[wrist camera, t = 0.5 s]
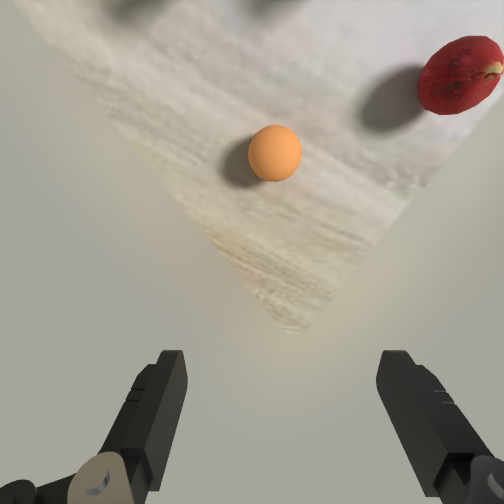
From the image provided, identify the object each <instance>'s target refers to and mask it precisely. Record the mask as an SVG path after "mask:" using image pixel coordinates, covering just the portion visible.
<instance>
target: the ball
mask: <svg viewBox="0 0 504 504" xmlns="http://www.w3.org/2000/svg"><path fill="white" fill-rule="evenodd" d="M248 159H249V163H250V166H251V168H252V170H253V171H254V173H255V174H256V175H257V176H259V177H260V178H262V179H264V180H266V181H271V182H278V181H282V180H284V179H286V178H288V177H290V176H291V175H292V174H293V173H294V172H295V170H296V169H297V167H298V165H299V163H300V160H301V146H300V142H299V140H298V138H297V136H296V135H295V134H294V133H293V132H292V131H291V130H290V129H288V128H286V127H284V126H280V125H271V126H267V127H265V128H263V129H261V130H260V131H259V132H257V133H256V134H255V136H254V137H253V139H252V140H251V143H250V145H249V150H248Z"/></svg>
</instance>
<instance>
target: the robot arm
mask: <svg viewBox="0 0 504 504" xmlns="http://www.w3.org/2000/svg"><path fill="white" fill-rule="evenodd" d="M187 382H188V378H187V371H186V366H185V360H184V355H183V351H182V350H163V351H162V352H161V354H160V356H159V358H158V361H157V363H156V364H148V365H147V366H146V367H145V368H144V369H143V370H142V371H141V372H140V373H139V374H138V375H137V377H136V380H135V381H134V383H133V386H132V388H131V391H130V392H129V394H128V396H127V398H126V401H125V402H124V404H123V406H122V408H121V410H120V412H119V414H118V416H117V418H116V420H115V422H114V424H113V426H112V428H111V430H110V432H109V434H108V436H107V438H106V440H105V442H104V444H103V446H102V448H101V450H100V451H99V452H98V454H97V455H96V456H94V457H92V458H91V459H90V460H88V461H87V462H86V463H85V464H84V465H83V466H82V467H81V468H80V469H79V470H78V471H77V473H75V474H73V475H71V476H68V477H66V478H63V479H60V480H57V481H54V482H51V483H48V484H45V485H43V486H40V487H37V488H36V487H35V486H34V484H33V483H32V482H30V481H29V480H17V481H14V482H11V483H9V484H6V485H5V486H3V487H1V488H0V504H145V500H146V497H147V494H148V491H159V489H160V486H161V482H162V478H163V474H164V471H165V467H166V464H167V460H168V457H169V453H170V449H171V446H172V442H173V439H174V435H175V431H176V427H177V424H178V420H179V417H180V413H181V410H182V406H183V402H184V399H185V395H186V391H187ZM376 385H377V390H378V393H379V395H380V397H381V400H382V402H383V404H384V406H385V408H386V410H387V413H388V415H389V417H390V419H391V422H392V424H393V426H394V428H395V430H396V433H397V434H398V437H399V439H400V441H401V444H402V446H403V448H404V450H405V452H406V454H407V456H408V459H409V461H410V463H411V465H412V467H413V470H414V472H415V474H416V476H417V478H418V481H419V483H420V485H421V487H422V490H423V492H424V494H425V496H426V497H440V499H441V501H442V503H443V504H504V461H502V460H500V459H498V458H495V457H494V456H493V454H492V453H491V452H490V451H489V449H488V448H487V447H486V445H485V444H484V442H483V441H482V440H481V438H480V437H479V435H478V434H477V433H476V431H475V430H474V429H473V427H472V426H471V424H470V423H469V422H468V420H467V419H466V417H465V416H464V415H463V413H462V412H461V411H460V409H459V408H458V406H457V405H455V404H454V401H453V399H452V398H451V397H450V395H449V394H448V393H446V390H445V388H444V387H443V386H442V384H441V383H440V382H439V380H438V379H437V377H436V376H435V375H434V374H432V373H431V372H430V371H429V370H428V369H426V368H425V367H424V366H423V365H416V364H415V363H414V361H413V360H412V358H411V357H410V355H409V354H408V353H407V352H406V351H403V350H393V351H392V350H385V351H383V353H382V356H381V360H380V364H379V368H378V372H377V377H376Z"/></svg>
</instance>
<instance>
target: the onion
mask: <svg viewBox="0 0 504 504" xmlns="http://www.w3.org/2000/svg"><path fill="white" fill-rule="evenodd" d="M503 64H504V56H503V54H502V52H501V49H500V47H499V46H498V44H497V43H495V42H494V41H492V40H491V39H489V38H488V37H486V36H466V37H462V38H459V39H457V40H455V41H452V42H450V43H448V44H447V45H445V46H444V47H442V48H441V49H440V50H439V51H437V52H436V53H435V54H434V55H433V56H432V57H431V58H430V59H429V61H428V62H427V64H426V65H425V67H424V68H423V70H422V72H421V75H420V78H419V81H418V84H417V91H418V99H419V101H420V102H421V104H422V105H423V107H424V109H426V110H429V111H431V112H433V113H436V114H438V115H452V114H458V113H461V112H463V111H466V110H468V109H470V108H472V107H474V106H476V105H477V104H479V103H480V102H481V101H483V100H484V99H485V98H486V97H488V96H489V95H490V94H491V93H492V91H493V90H494V88H495V87H496V85H497V84H498V82H499V80H500V77H501V75H502V74H503V72H504V66H503Z"/></svg>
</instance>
